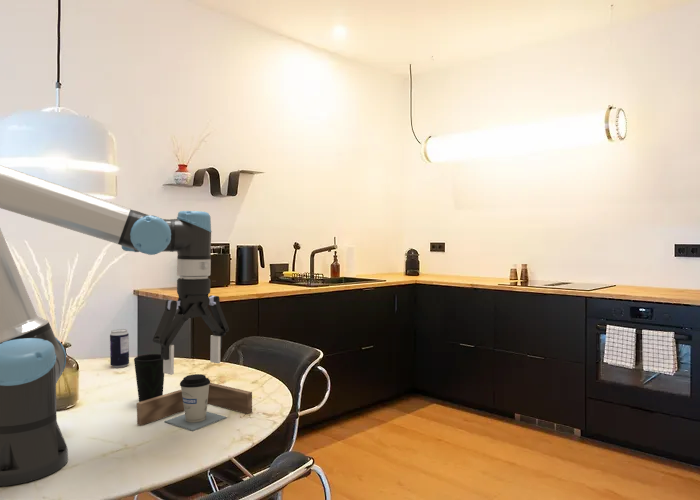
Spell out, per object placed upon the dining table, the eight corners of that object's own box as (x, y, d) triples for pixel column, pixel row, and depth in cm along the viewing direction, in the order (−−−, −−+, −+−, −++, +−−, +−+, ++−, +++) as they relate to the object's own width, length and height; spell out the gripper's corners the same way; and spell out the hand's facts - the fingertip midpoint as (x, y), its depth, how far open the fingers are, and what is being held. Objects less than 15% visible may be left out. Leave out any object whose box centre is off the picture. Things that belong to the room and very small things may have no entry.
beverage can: (126, 363, 180) (125, 328, 180) (131, 366, 176) (130, 330, 175) (108, 366, 176) (107, 330, 176) (113, 369, 172) (112, 332, 172)
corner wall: (183, 439, 113) (183, 416, 113) (137, 424, 122) (136, 402, 122) (252, 412, 130) (252, 392, 130) (206, 400, 139) (206, 381, 139)
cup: (155, 408, 133) (155, 361, 133) (128, 407, 135) (127, 360, 134) (172, 399, 141) (171, 354, 140) (146, 397, 142) (145, 353, 142)
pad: (192, 431, 118) (192, 429, 118) (164, 422, 123) (164, 421, 123) (226, 418, 126) (226, 416, 126) (198, 410, 132) (198, 409, 132)
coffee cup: (200, 411, 130) (199, 371, 129) (216, 418, 125) (216, 376, 125) (174, 419, 124) (173, 377, 124) (190, 426, 120) (189, 382, 119)
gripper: (158, 281, 111) (157, 381, 112) (244, 275, 132) (242, 360, 132) (136, 279, 115) (135, 376, 116) (223, 274, 136) (222, 356, 137)
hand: (192, 367), depth 124 cm, fingers open, 13 cm apart
